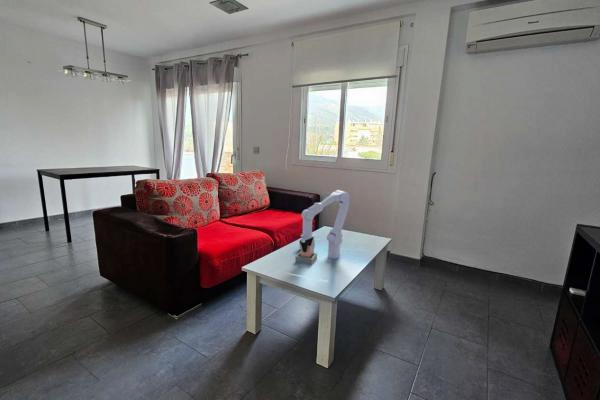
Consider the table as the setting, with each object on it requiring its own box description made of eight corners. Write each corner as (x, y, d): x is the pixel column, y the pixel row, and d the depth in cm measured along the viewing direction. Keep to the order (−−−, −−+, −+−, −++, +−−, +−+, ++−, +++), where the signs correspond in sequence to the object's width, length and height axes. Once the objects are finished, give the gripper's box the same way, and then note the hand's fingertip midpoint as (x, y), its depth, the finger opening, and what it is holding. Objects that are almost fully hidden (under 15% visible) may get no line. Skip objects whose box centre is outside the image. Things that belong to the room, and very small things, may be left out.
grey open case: (311, 254, 187) (312, 243, 186) (296, 252, 191) (296, 241, 189) (317, 247, 200) (317, 237, 199) (303, 245, 204) (303, 235, 202)
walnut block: (303, 257, 180) (303, 252, 179) (312, 259, 177) (312, 253, 177) (300, 261, 174) (300, 255, 173) (309, 263, 172) (309, 256, 171)
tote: (301, 257, 183) (301, 250, 182) (316, 259, 179) (317, 253, 178) (295, 263, 173) (295, 256, 172) (311, 266, 169) (311, 259, 168)
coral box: (303, 252, 178) (303, 244, 177) (312, 253, 176) (312, 246, 175) (301, 254, 174) (301, 247, 173) (310, 256, 172) (310, 248, 171)
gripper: (305, 225, 180) (304, 245, 182) (296, 231, 167) (296, 252, 169) (315, 226, 177) (314, 246, 180) (308, 232, 164) (307, 254, 167)
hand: (306, 249), depth 174 cm, fingers open, 7 cm apart
